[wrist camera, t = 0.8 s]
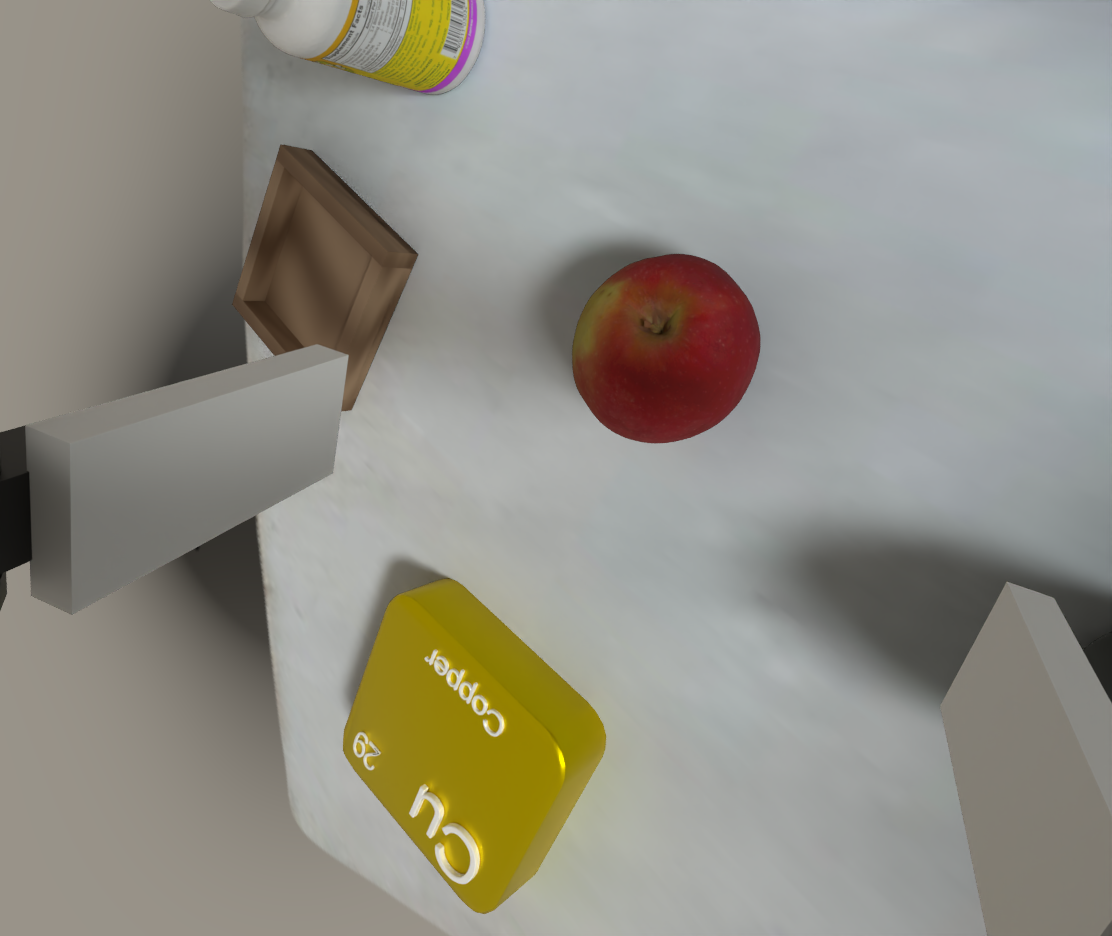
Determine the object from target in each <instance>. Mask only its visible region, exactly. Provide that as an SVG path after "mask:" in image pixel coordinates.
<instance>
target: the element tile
mask: <svg viewBox="0 0 1112 936" xmlns="http://www.w3.org/2000/svg"><path fill="white" fill-rule="evenodd" d="M605 745H606V734H605V730H604V726H603V723H602V721H601V720H600V718H599V716H598V714H597V713H596V711H595V710H594V709H593V708H592V707H591V705H590V704H589V703H588V702H587V701H586V700H585V699H584V698H583V697H582V696H581V695H580V694H578V693H577V692H576V691H575V690H574V689H573V688H572V687H571V686H570V685H569V684H568V683H567V682H566V681H565V680H563V679H562V678H561V677H560V676H559V675H558V674H557V673H556V672H555V671H554V670H553V669H552V668H551V667H550V666H548V665H547V664H546V663H545V662H544V661H543V660H542V659H541V658H540V657H539V656H538V655H537V654H536V653H535V652H534V651H532V650H531V649H530V648H529V647H528V646H527V645H526V644H525V643H524V642H523V641H522V640H521V639H520V638H519V637H517V636H516V635H515V634H514V633H513V632H512V631H511V630H510V629H509V628H508V627H507V626H506V625H505V624H504V623H503V622H501V621H500V620H499V619H498V618H497V617H496V616H495V615H494V614H493V613H492V612H491V611H490V610H489V609H488V608H486V607H485V606H484V605H483V604H482V603H481V602H480V601H479V600H478V599H477V598H476V597H475V596H474V595H473V594H472V593H470V592H469V591H468V590H467V589H466V588H465V587H464V586H463V585H461V584H460V583H458V582H457V581H455V580H452V579H449V578H446V579H440V580H437V581H435V582H432V583H429V584H426V585H423V586H421V587H418V588H415V589H412V590H409V591H407V592H404V593H401V594H398V595H397V596H395V597H394V598H393V599H392V600H391V601H390V603H389V604H388V606H387V608H386V611H385V614H384V617H383V620H382V622H381V625H380V628H379V631H378V634H377V637H376V640H375V643H374V645H373V648H372V651H371V654H370V657H369V660H368V663H367V666H366V668H365V671H364V674H363V677H362V680H361V683H360V686H359V689H358V692H357V694H356V697H355V700H354V703H353V706H352V709H351V712H350V715H349V717H348V720H347V723H346V726H345V729H344V738H343V751H344V754H345V756H346V758H347V759H348V761H349V763H350V764H351V766H352V767H353V769H354V770H355V772H356V773H357V774H358V775H359V777H360V778H361V779H362V780H363V781H364V783H365V784H366V785H367V786H368V788H369V789H370V790H371V791H372V792H373V794H374V795H375V796H376V797H377V798H378V800H379V801H380V802H381V803H382V805H383V806H384V807H385V808H386V809H387V811H388V812H389V813H390V814H391V815H392V817H393V818H394V819H395V820H396V822H397V823H398V824H399V825H400V826H401V828H402V829H403V830H404V831H405V832H406V834H407V835H408V836H409V837H410V839H411V840H412V841H413V842H414V843H415V845H416V846H417V847H418V848H419V849H420V851H421V852H422V853H423V854H424V856H425V857H426V858H427V859H428V860H429V862H430V863H431V864H432V865H433V866H434V868H435V869H436V870H437V871H438V873H439V874H440V875H441V876H442V877H443V879H444V880H445V881H446V882H447V883H448V885H449V886H450V887H451V888H452V889H453V891H454V892H455V893H456V894H457V896H458V897H459V898H460V899H461V900H462V901H463V902H464V903H465V904H466V905H467V906H468V907H469V908H471V909H472V910H473V911H475V912H477V913H482V914H486V913H488V912H491V911H493V910H495V909H496V908H497V907H498V906H499V905H501V904H502V903H503V902H504V901H505V900H506V899H508V898H509V897H510V896H511V895H512V894H513V893H514V892H516V891H517V890H518V889H519V888H520V887H521V886H522V885H524V884H525V883H526V882H527V881H528V880H529V879H531V878H532V877H533V876H534V875H535V874H536V872H537V871H538V869H539V867H540V865H541V864H542V862H543V860H544V858H545V857H546V855H547V853H548V851H549V850H550V848H551V846H552V844H553V843H554V841H555V839H556V837H557V836H558V834H559V832H560V830H561V829H562V827H563V825H564V823H565V822H566V820H567V818H568V816H569V815H570V813H571V811H572V809H573V808H574V806H575V804H576V802H577V801H578V799H579V797H580V795H581V794H582V792H583V790H584V788H585V787H586V785H587V783H588V781H589V780H590V778H591V776H592V774H593V773H594V771H595V769H596V767H597V766H598V764H599V762H600V760H601V759H602V757H603V754H604V751H605Z"/></svg>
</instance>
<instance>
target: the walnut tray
mask: <svg viewBox="0 0 1112 936" xmlns="http://www.w3.org/2000/svg"><path fill="white" fill-rule="evenodd" d="M417 256H418V254H417V253H416V252H415V251H414V250H413V249H412V248H411V247H410V246H409V245H408V244H407V243H406V242H405V241H404V240H403V239H402V238H401V237H400V236H399V235H398V234H397V233H396V232H395V231H394V230H393V229H392V228H391V227H390V226H389V225H388V224H387V223H386V222H385V221H384V220H383V219H382V218H381V217H380V216H378V215H377V214H376V213H375V212H374V211H373V210H372V209H371V208H370V207H369V206H368V205H367V204H366V203H365V202H364V201H363V200H362V199H361V198H360V197H359V196H358V195H357V194H356V193H355V192H354V191H353V190H352V189H351V188H350V187H349V186H348V185H347V184H346V183H345V182H344V181H343V180H342V179H341V178H340V177H339V176H338V175H337V174H336V173H334V172H333V171H332V170H331V169H330V168H329V167H328V166H327V165H326V164H325V163H324V162H323V161H322V160H321V159H320V158H319V157H318V156H317V155H316V154H315V153H314V152H313V151H312V150H307V149H302V148H296V147H291V146H286V145H280V148H279V152H278V155H277V158H276V162H275V165H274V168H273V171H272V175H271V178H270V181H269V185H268V188H267V191H266V194H265V198H264V201H263V204H262V208H261V211H260V214H259V218H258V221H257V224H256V227H255V231H254V234H253V237H252V241H251V244H250V247H249V251H248V254H247V257H246V260H245V264H244V267H243V270H242V274H241V277H240V280H239V283H238V287H237V290H236V293H235V297H234V300H233V303H232V305H233V306H234V307H235V308H236V310H237V311H238V312H239V313H240V314H241V316H242V317H243V318H244V319H245V320H246V322H247V323H248V324H249V325H250V327H251V328H252V329H253V330H254V331H255V333H256V334H257V335H258V336H259V337H260V339H261V340H262V341H263V342H264V343H265V345H266V346H267V347H268V348H269V349H270V351H271V352H272V353H273V354H274V355H275V356H277V355H280V354H284V353H287V352H291V351H295V350H298V349H302V348H305V347H309V346H313V345H316V344H318V345H321V346H324V347H327V348H330V349H333V350H335V351H338V352H341V353H344V354H347V355H349V356H348V364H347V371H346V379H345V386H344V394H343V401H342V409H341V411H348V410H352V408H353V405H354V403H355V401H356V398H357V396H358V394H359V391H360V389H361V387H362V384H363V382H364V380H365V377H366V375H367V373H368V370H369V368H370V366H371V363H372V361H373V359H374V356H375V354H376V352H377V349H378V347H379V345H380V342H381V340H382V338H383V335H384V333H385V331H386V328H387V326H388V324H389V321H390V319H391V317H392V314H393V312H394V310H395V307H396V305H397V303H398V300H399V298H400V296H401V293H402V291H403V289H404V286H405V284H406V282H407V279H408V277H409V275H410V273H411V270H412V268H413V266H414V263H415V261H416V259H417Z"/></svg>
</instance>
